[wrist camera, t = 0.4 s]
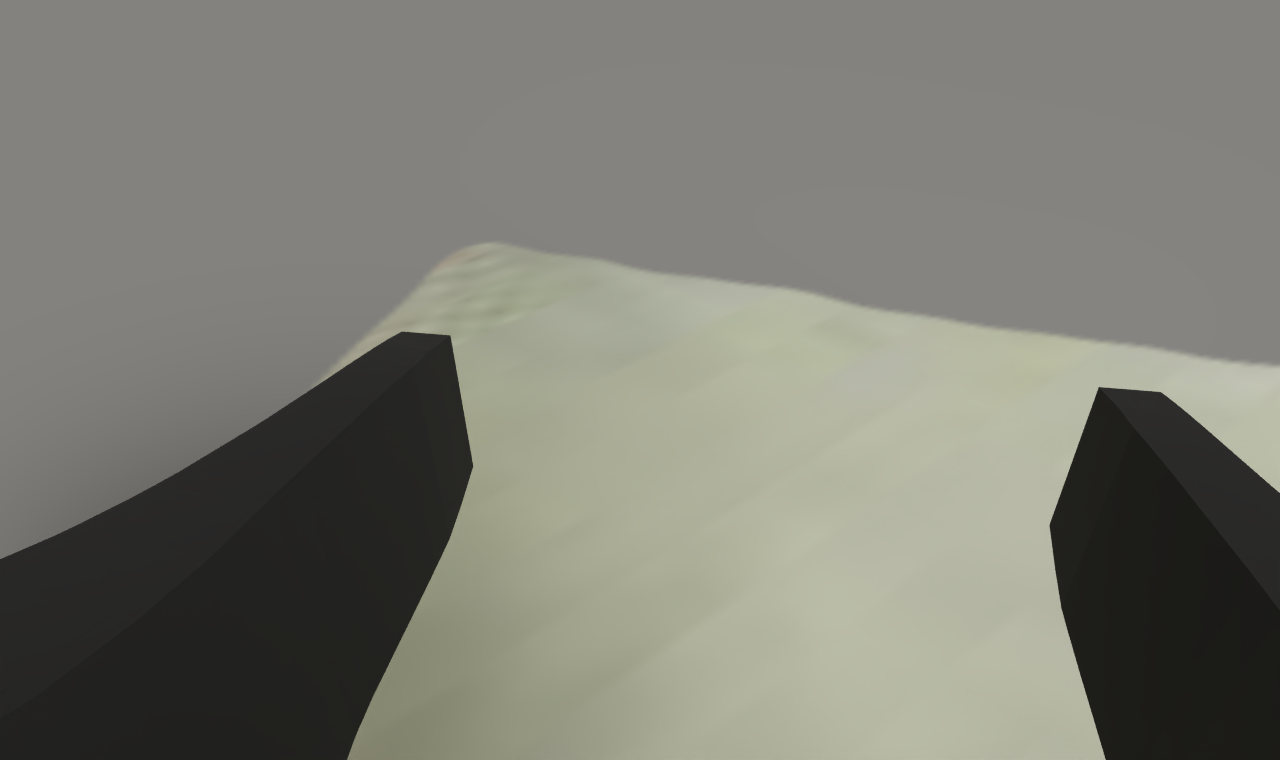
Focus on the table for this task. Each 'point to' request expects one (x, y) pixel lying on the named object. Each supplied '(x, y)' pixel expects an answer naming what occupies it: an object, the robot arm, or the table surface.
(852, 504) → the table surface
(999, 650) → the table surface
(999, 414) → the table surface
